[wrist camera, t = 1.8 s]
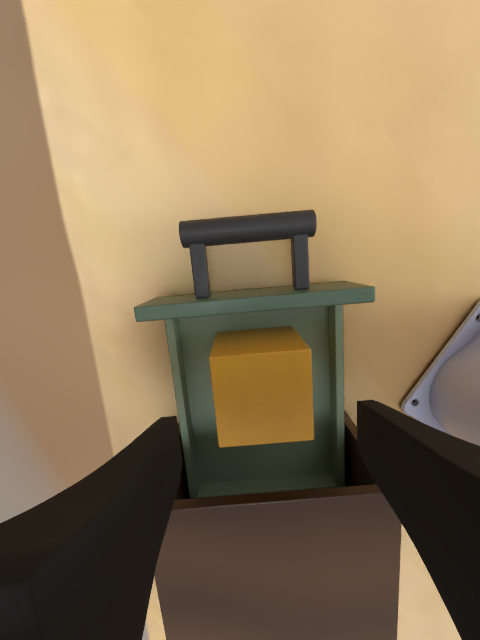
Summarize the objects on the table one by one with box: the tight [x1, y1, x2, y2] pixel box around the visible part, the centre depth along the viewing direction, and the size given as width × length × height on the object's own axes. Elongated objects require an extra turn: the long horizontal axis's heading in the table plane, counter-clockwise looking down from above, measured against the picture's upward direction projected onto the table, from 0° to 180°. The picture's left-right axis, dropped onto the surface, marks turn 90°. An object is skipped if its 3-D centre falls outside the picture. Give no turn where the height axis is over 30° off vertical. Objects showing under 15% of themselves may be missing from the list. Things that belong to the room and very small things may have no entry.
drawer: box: [134, 210, 375, 499], centre depth 17 cm, size 18×12×4 cm
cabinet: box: [154, 411, 401, 640], centre depth 18 cm, size 14×12×7 cm
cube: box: [209, 326, 314, 448], centre depth 16 cm, size 5×5×5 cm
